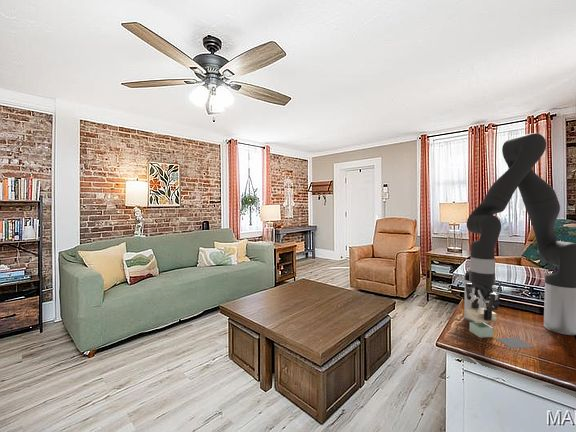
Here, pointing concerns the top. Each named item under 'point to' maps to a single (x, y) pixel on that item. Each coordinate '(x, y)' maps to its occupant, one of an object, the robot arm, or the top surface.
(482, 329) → the mint green open box
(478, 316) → the lid
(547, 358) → the top surface
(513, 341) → the mat
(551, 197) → the robot arm
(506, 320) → the top surface
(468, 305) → the travel mug
